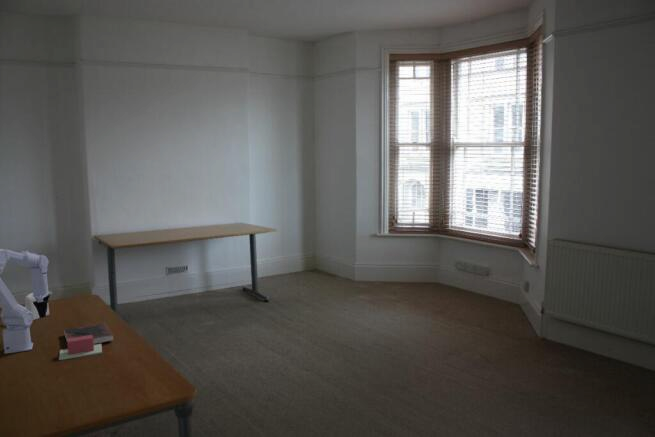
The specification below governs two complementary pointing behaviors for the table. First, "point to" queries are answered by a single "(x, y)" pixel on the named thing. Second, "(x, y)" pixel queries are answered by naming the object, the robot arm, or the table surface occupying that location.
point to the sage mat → (65, 355)
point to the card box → (80, 344)
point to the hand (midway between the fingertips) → (43, 314)
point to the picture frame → (91, 332)
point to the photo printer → (31, 307)
